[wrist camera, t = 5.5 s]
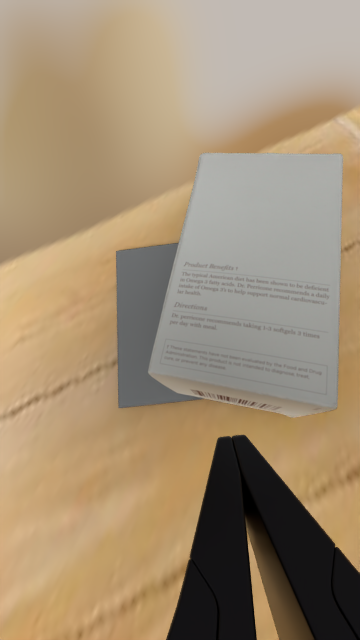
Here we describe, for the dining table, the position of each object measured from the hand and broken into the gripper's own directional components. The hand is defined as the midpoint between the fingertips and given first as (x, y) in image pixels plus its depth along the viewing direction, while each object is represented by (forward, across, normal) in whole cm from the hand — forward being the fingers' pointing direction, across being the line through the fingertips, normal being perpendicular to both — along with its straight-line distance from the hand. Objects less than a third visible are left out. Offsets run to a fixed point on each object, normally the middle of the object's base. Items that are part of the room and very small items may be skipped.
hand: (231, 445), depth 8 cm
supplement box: (+4, -1, +2) cm, 5 cm away
